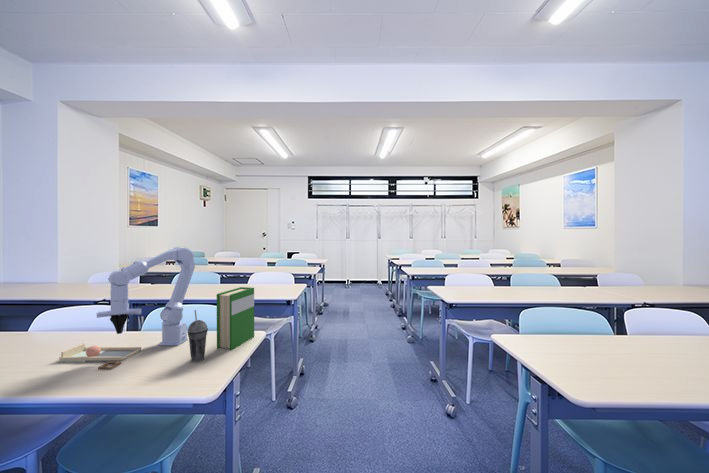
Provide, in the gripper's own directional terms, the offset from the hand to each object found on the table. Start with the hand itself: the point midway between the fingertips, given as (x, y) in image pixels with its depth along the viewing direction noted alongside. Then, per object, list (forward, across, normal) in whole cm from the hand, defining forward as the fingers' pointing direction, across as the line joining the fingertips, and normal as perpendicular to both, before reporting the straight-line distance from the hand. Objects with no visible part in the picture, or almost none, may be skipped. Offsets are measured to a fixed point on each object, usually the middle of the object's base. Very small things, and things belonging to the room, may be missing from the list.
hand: (119, 333), depth 122 cm
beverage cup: (+10, -30, +16) cm, 36 cm away
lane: (+9, +7, -2) cm, 12 cm away
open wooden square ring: (+9, 0, +11) cm, 14 cm away
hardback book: (+10, -45, +1) cm, 46 cm away
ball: (+6, +9, -1) cm, 11 cm away
